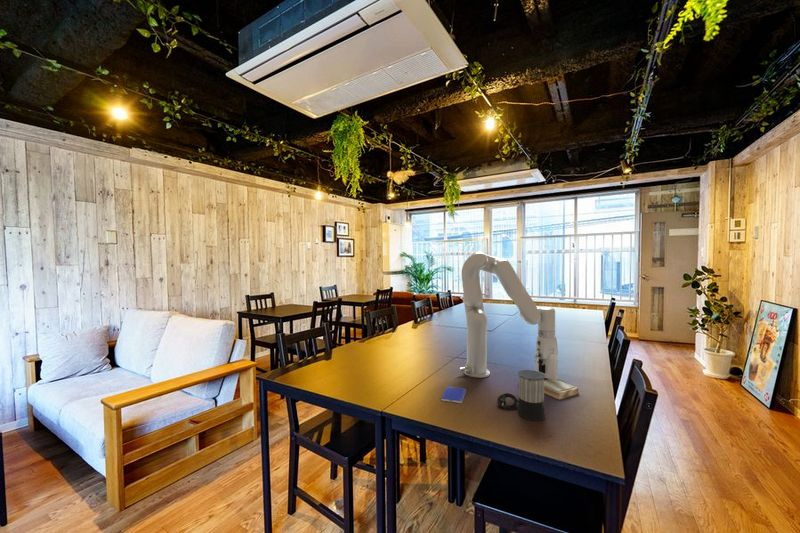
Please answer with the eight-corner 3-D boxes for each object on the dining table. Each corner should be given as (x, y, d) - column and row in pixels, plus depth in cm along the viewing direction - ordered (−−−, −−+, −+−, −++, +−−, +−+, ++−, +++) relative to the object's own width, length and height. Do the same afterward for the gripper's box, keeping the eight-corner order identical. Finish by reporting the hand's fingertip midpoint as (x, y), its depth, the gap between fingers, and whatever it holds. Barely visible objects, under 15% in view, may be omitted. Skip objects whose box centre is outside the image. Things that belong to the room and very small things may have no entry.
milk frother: (548, 422, 110) (548, 379, 109) (500, 418, 113) (500, 376, 112) (538, 404, 124) (538, 366, 123) (495, 401, 127) (495, 363, 126)
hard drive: (447, 386, 139) (441, 397, 127) (466, 388, 136) (461, 400, 125) (447, 389, 139) (441, 401, 127) (466, 392, 136) (461, 404, 125)
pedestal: (558, 399, 127) (558, 392, 127) (534, 388, 138) (534, 382, 138) (578, 393, 133) (578, 387, 133) (553, 383, 143) (553, 377, 143)
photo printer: (533, 375, 154) (533, 349, 154) (538, 373, 157) (538, 348, 157) (555, 381, 146) (555, 354, 146) (559, 379, 149) (559, 353, 149)
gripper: (540, 337, 144) (540, 377, 144) (565, 333, 151) (565, 371, 152) (527, 333, 151) (526, 371, 151) (551, 330, 158) (551, 366, 159)
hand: (546, 371), depth 151 cm, fingers closed on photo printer, 5 cm apart
